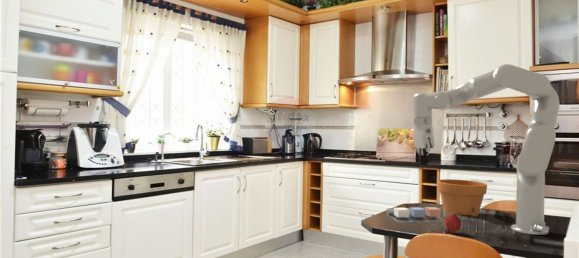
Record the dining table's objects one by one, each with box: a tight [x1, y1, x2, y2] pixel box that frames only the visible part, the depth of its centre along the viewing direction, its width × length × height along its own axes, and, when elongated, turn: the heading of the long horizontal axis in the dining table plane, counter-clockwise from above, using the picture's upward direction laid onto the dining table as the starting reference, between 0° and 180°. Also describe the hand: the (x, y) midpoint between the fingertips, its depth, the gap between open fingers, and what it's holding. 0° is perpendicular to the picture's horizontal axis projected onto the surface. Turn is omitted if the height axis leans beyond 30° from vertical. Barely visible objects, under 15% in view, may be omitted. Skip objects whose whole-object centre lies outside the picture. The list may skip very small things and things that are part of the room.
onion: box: [444, 212, 462, 234], centre depth 162 cm, size 6×6×8 cm
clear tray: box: [386, 207, 446, 223], centre depth 181 cm, size 13×22×4 cm, turn 98°
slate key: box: [409, 206, 425, 217], centre depth 181 cm, size 5×5×3 cm
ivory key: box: [393, 207, 409, 217], centre depth 180 cm, size 5×5×3 cm
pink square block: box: [424, 206, 442, 218], centre depth 182 cm, size 5×5×3 cm
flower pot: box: [437, 178, 488, 218], centre depth 197 cm, size 21×21×15 cm
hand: (423, 164), depth 184 cm, fingers closed
